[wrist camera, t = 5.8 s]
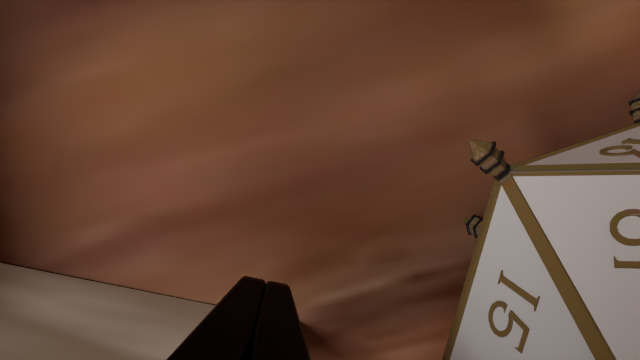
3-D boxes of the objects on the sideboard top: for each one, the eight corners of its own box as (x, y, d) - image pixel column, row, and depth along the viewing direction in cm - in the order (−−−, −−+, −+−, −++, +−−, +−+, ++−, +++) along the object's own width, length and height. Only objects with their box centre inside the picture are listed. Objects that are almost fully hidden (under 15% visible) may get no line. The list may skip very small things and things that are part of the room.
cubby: (297, 336, 18) (275, 472, 14) (-87, 260, 18) (-210, 380, 14) (418, -149, 10) (438, -121, 7) (-270, -305, 10) (-662, -370, 6)
